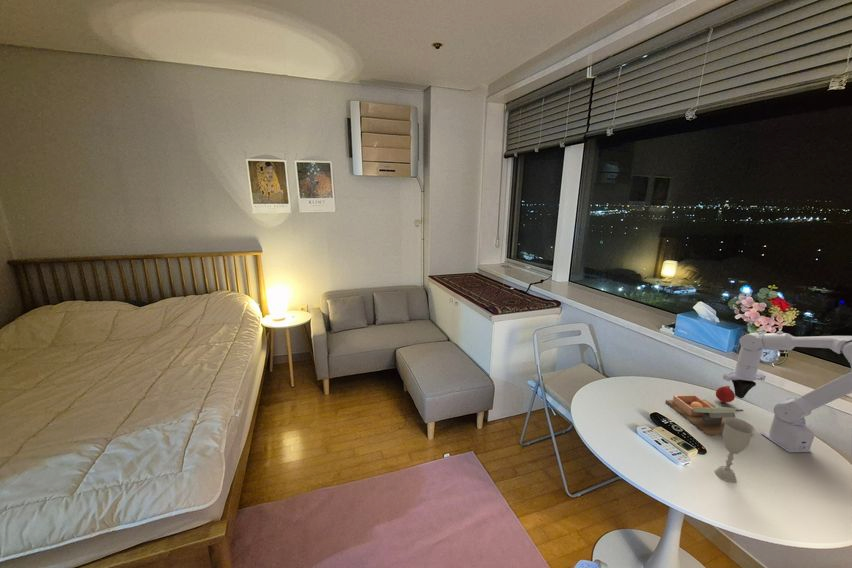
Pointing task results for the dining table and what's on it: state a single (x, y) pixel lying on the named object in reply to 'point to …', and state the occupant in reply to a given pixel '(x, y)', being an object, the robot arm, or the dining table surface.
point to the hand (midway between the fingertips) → (739, 396)
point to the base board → (698, 419)
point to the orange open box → (683, 399)
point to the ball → (696, 405)
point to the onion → (725, 394)
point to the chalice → (734, 444)
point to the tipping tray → (718, 411)
